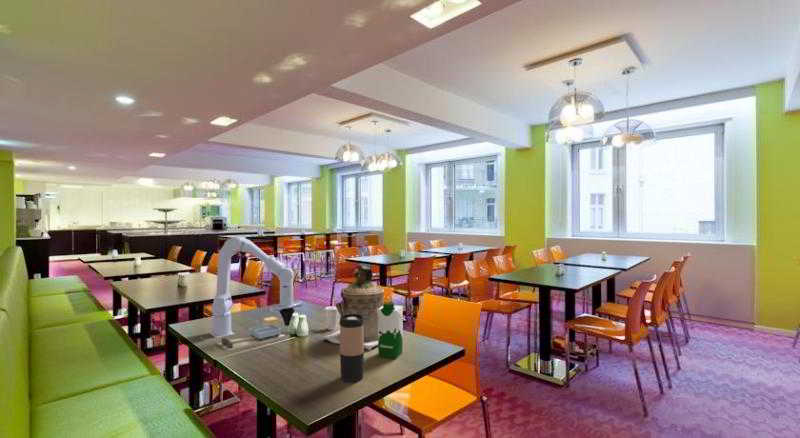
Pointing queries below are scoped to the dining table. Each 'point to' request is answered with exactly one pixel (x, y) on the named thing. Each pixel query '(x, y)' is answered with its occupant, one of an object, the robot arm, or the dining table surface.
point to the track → (245, 341)
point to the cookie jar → (361, 305)
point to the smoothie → (332, 316)
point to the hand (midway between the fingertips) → (286, 325)
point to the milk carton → (390, 330)
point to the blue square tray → (265, 331)
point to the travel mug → (351, 347)
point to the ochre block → (270, 321)
